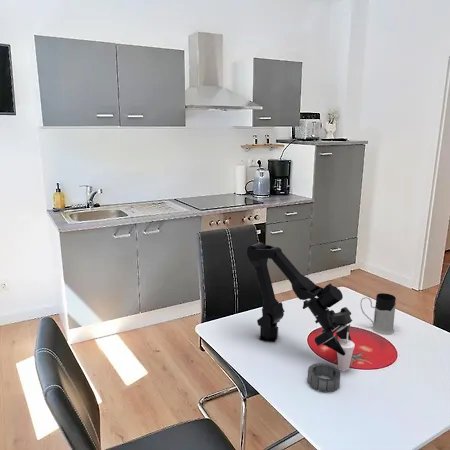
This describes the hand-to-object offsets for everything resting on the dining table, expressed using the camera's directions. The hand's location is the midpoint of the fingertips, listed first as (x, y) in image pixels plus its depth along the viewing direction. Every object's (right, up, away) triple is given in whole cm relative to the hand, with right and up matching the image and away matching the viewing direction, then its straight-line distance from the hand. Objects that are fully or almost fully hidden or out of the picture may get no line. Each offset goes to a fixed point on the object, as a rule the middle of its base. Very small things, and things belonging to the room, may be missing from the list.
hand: (348, 351), depth 141 cm
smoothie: (-1, -7, +2) cm, 7 cm away
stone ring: (-10, -9, -6) cm, 15 cm away
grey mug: (+21, 0, +31) cm, 38 cm away
